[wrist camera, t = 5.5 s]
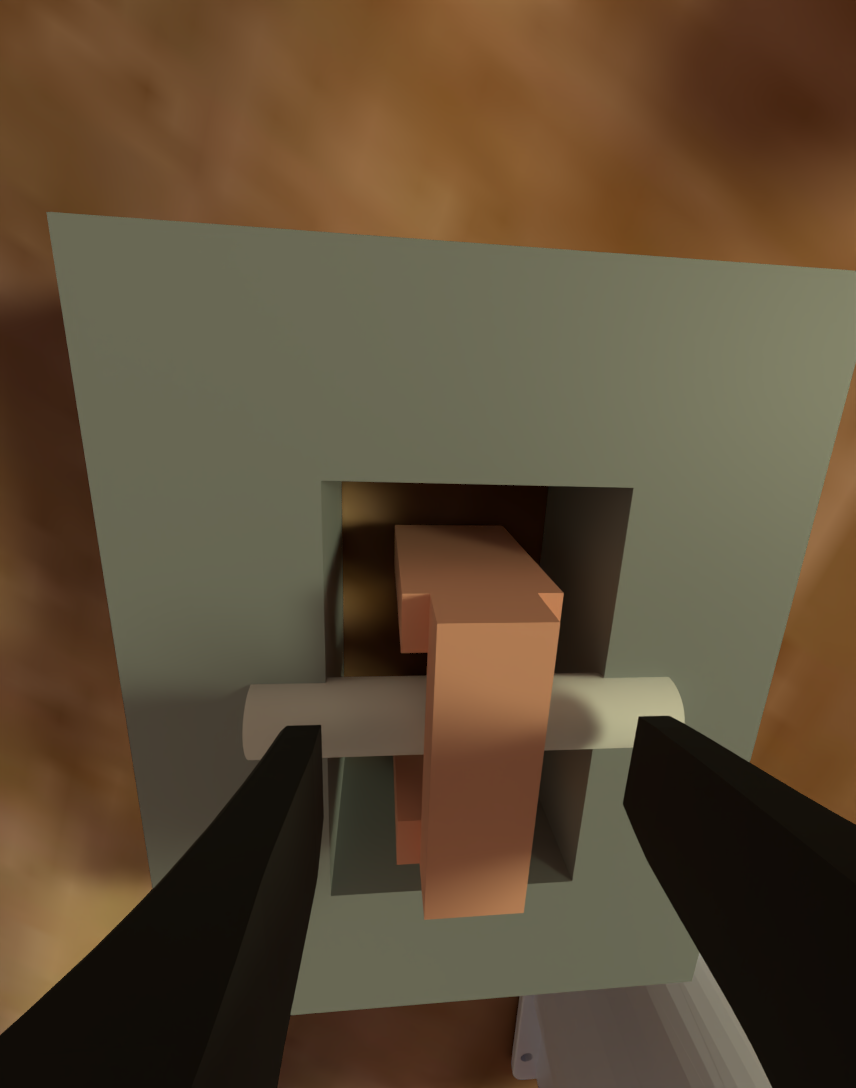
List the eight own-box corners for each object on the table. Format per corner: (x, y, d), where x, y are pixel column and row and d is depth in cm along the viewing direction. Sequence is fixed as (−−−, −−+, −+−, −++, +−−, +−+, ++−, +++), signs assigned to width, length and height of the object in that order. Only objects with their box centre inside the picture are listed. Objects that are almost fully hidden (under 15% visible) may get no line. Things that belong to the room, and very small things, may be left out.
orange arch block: (486, 720, 15) (547, 910, 10) (391, 722, 15) (398, 921, 9) (502, 525, 14) (589, 622, 8) (395, 524, 13) (405, 624, 8)
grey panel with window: (613, 836, 18) (710, 1015, 13) (230, 856, 17) (160, 1066, 12) (708, 317, 13) (927, 259, 8) (174, 284, 12) (7, 189, 7)
